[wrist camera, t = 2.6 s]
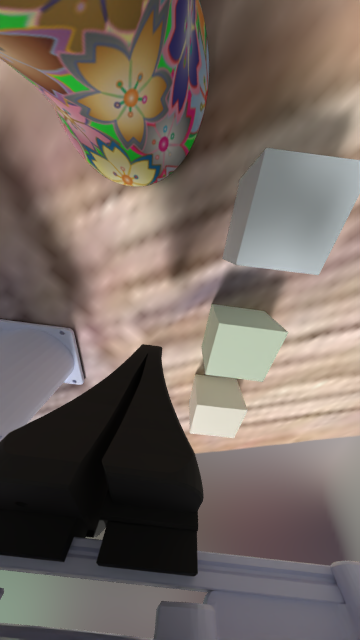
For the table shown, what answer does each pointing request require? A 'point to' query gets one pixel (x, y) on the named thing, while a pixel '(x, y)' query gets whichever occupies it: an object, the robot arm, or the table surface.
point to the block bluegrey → (291, 210)
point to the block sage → (240, 342)
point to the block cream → (216, 406)
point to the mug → (116, 77)
